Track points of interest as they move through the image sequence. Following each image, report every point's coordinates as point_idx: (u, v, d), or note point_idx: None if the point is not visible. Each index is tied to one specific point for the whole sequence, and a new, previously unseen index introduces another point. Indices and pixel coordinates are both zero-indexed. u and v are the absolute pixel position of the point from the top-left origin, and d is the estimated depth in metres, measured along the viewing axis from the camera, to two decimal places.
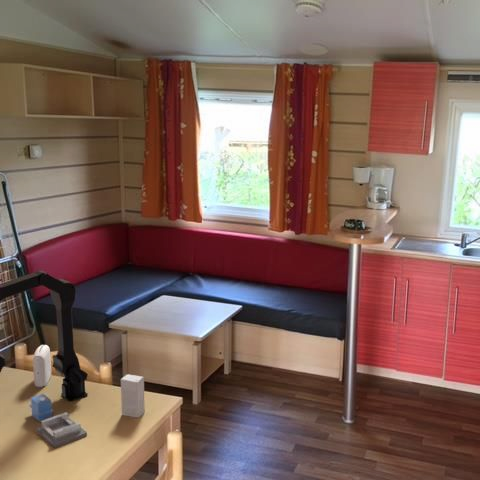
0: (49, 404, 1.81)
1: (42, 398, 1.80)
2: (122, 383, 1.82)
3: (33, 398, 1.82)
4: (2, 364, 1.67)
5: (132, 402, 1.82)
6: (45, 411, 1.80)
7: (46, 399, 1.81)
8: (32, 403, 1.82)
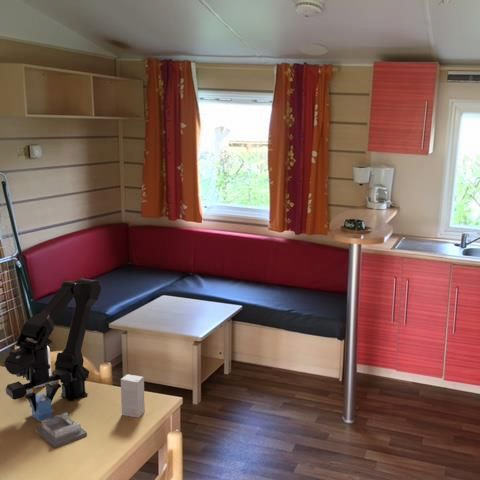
0: (49, 404, 1.81)
1: (42, 398, 1.80)
2: (122, 383, 1.82)
3: None
4: (12, 397, 1.73)
5: (132, 402, 1.82)
6: (45, 411, 1.80)
7: (46, 399, 1.81)
8: None
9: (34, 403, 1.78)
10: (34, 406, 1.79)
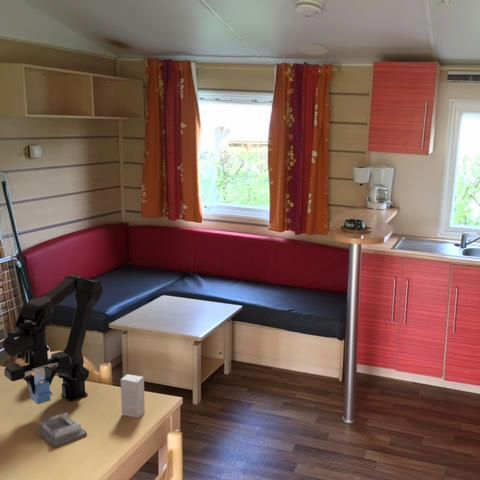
0: (48, 387, 1.80)
1: (41, 381, 1.79)
2: (122, 383, 1.82)
3: None
4: (10, 378, 1.71)
5: (132, 402, 1.82)
6: (44, 394, 1.78)
7: (45, 382, 1.80)
8: None
9: (33, 385, 1.77)
10: (33, 389, 1.78)
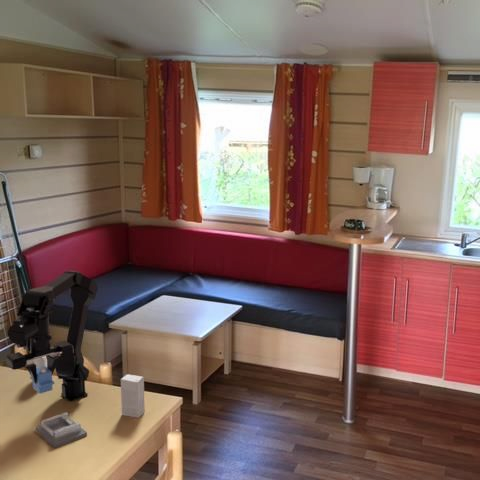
0: (50, 376, 1.77)
1: (43, 370, 1.76)
2: (122, 383, 1.82)
3: None
4: (12, 367, 1.69)
5: (132, 402, 1.82)
6: (46, 383, 1.76)
7: (47, 371, 1.77)
8: None
9: (34, 374, 1.74)
10: (34, 378, 1.75)
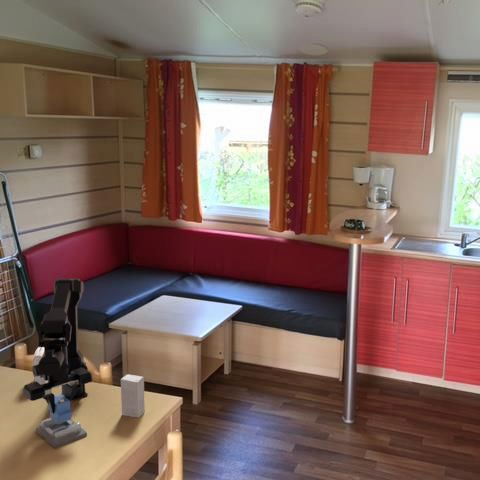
0: (68, 405, 1.71)
1: (61, 399, 1.70)
2: (122, 383, 1.82)
3: None
4: (30, 398, 1.62)
5: (132, 402, 1.82)
6: (64, 413, 1.69)
7: (65, 400, 1.71)
8: None
9: (53, 404, 1.68)
10: (53, 408, 1.69)
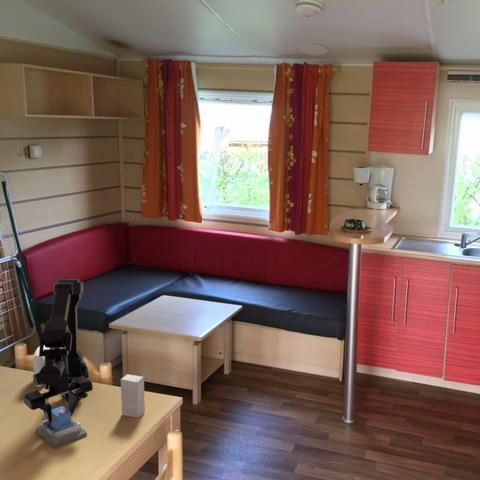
0: (69, 417, 1.71)
1: (62, 411, 1.71)
2: (122, 383, 1.82)
3: (52, 411, 1.72)
4: (30, 407, 1.63)
5: (132, 402, 1.82)
6: (65, 424, 1.70)
7: (66, 412, 1.71)
8: None
9: (50, 414, 1.68)
10: (50, 418, 1.68)
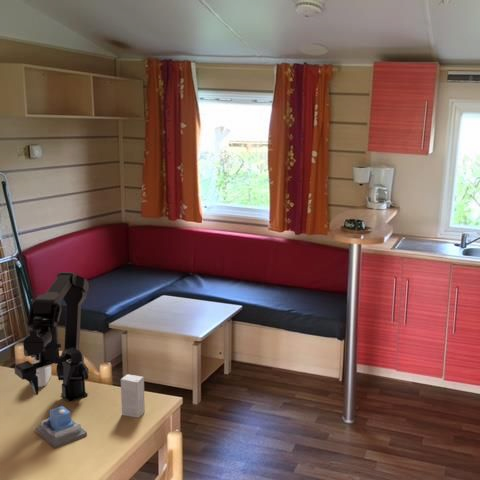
0: (69, 417, 1.71)
1: (62, 411, 1.71)
2: (122, 383, 1.82)
3: (52, 411, 1.72)
4: (21, 377, 1.65)
5: (132, 402, 1.82)
6: (65, 424, 1.70)
7: (66, 412, 1.71)
8: (51, 416, 1.72)
9: (36, 386, 1.69)
10: (36, 389, 1.70)
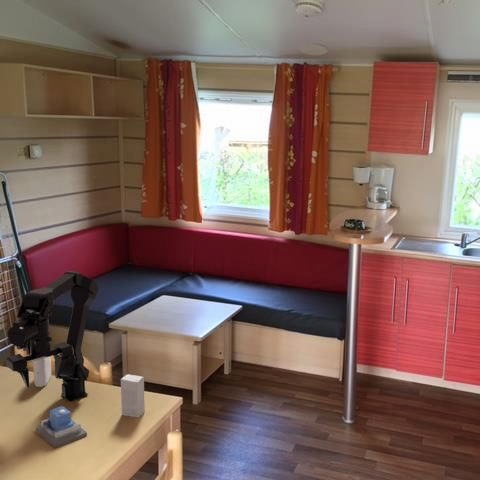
0: (69, 417, 1.71)
1: (62, 411, 1.71)
2: (122, 383, 1.82)
3: (52, 411, 1.72)
4: (12, 368, 1.69)
5: (132, 402, 1.82)
6: (65, 424, 1.70)
7: (66, 412, 1.71)
8: (51, 416, 1.72)
9: (27, 378, 1.73)
10: (27, 382, 1.74)
